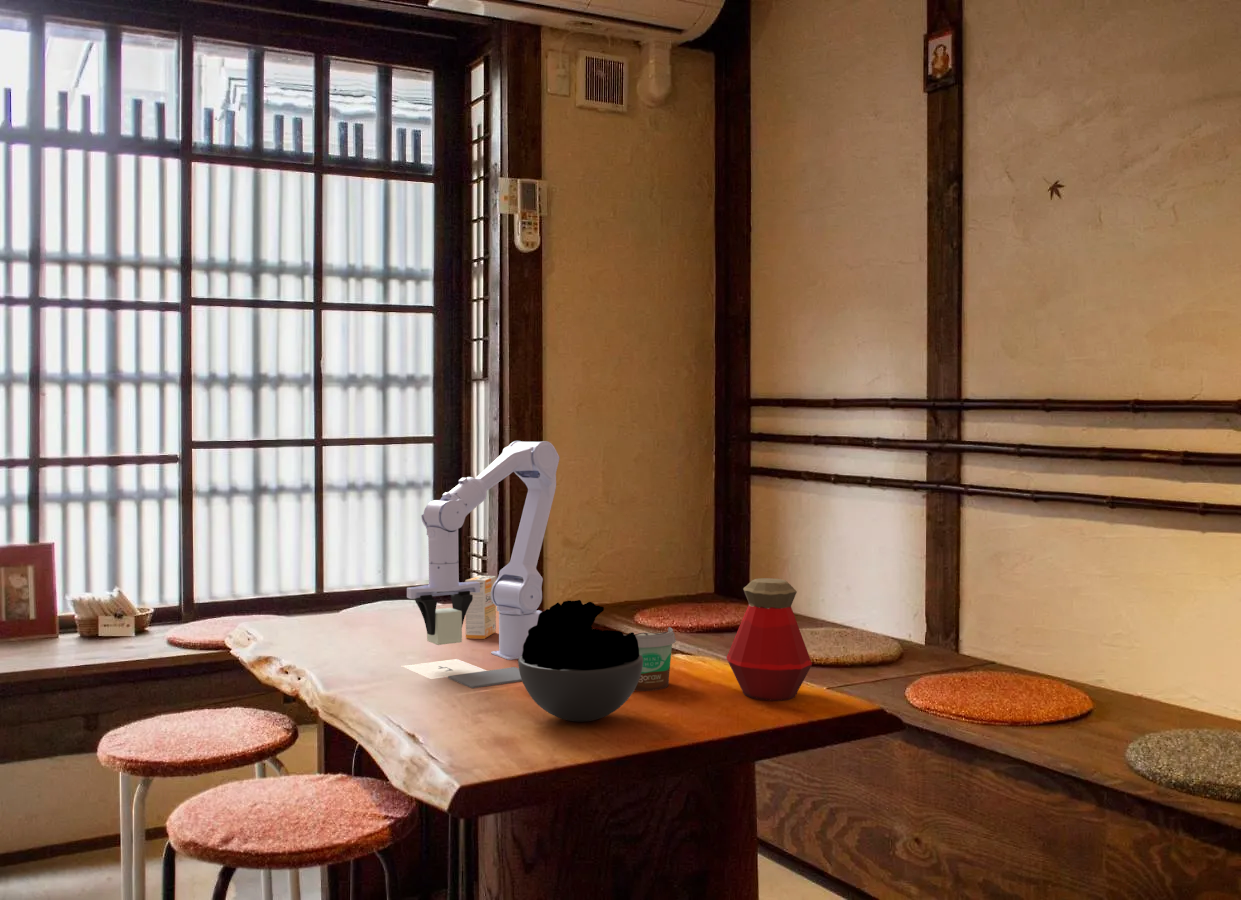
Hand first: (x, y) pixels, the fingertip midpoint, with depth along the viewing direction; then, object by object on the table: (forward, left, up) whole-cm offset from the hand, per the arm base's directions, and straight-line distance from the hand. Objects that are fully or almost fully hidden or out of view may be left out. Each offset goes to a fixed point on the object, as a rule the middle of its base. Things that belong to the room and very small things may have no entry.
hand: (444, 632), depth 224 cm
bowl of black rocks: (-2, +47, -7) cm, 48 cm away
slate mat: (-4, +13, -7) cm, 15 cm away
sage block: (0, 0, -2) cm, 2 cm away
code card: (0, 0, -7) cm, 7 cm away
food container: (-24, +35, -7) cm, 43 cm away
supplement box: (-22, -28, -7) cm, 36 cm away
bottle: (-38, +51, -7) cm, 64 cm away
